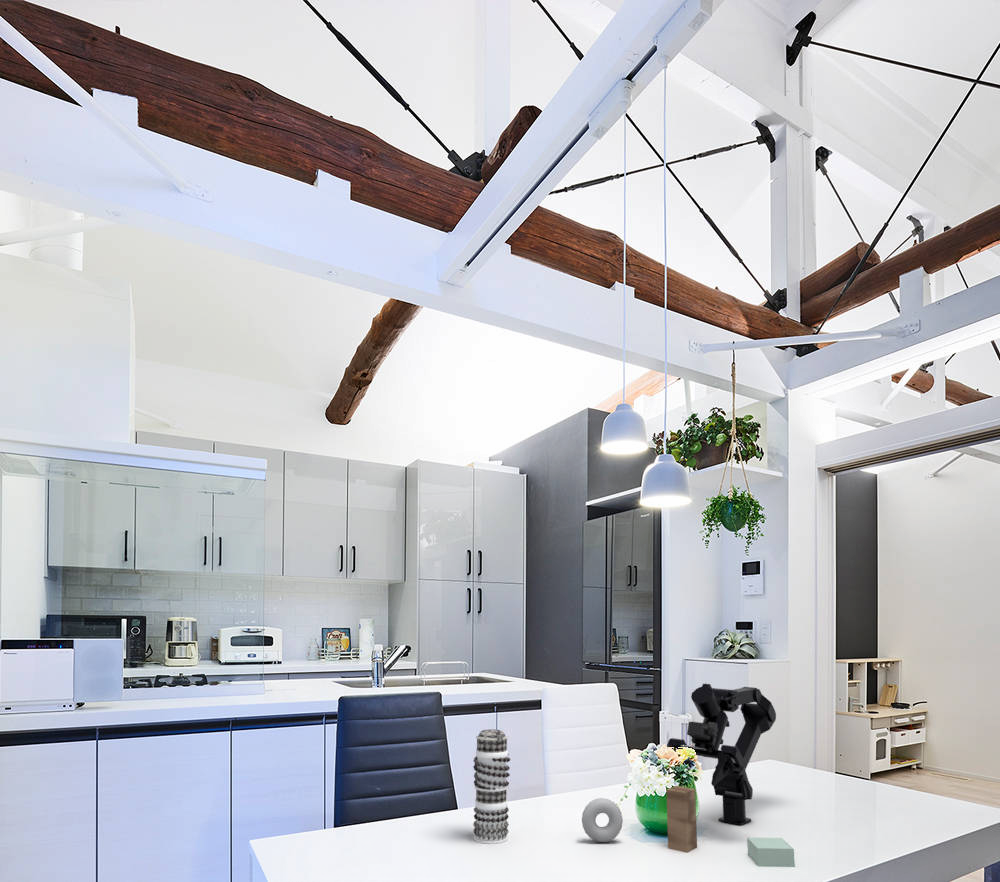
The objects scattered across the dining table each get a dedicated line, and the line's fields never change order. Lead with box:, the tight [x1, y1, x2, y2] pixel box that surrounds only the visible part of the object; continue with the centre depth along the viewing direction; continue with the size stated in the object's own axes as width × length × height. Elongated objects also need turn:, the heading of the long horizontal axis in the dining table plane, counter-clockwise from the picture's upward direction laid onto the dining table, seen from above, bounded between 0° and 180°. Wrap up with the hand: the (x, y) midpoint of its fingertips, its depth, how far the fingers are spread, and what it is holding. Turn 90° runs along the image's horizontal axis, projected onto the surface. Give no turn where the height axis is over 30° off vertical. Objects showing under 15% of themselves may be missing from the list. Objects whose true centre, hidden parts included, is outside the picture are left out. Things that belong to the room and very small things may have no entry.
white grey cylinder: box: [472, 728, 511, 845], centre depth 195 cm, size 9×9×25 cm
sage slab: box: [746, 836, 796, 868], centre depth 179 cm, size 8×8×4 cm
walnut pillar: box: [665, 785, 698, 853], centre depth 188 cm, size 5×5×13 cm
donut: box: [581, 797, 624, 843], centre depth 192 cm, size 10×4×10 cm, turn 92°
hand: (695, 782), depth 195 cm, fingers open, 9 cm apart
